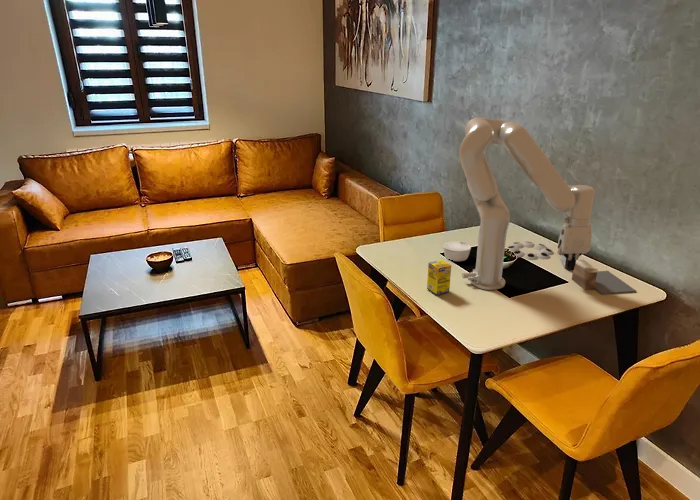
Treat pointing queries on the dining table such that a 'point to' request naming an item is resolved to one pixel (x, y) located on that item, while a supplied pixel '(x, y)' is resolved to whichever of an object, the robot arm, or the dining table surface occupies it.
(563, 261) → the tin
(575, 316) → the dining table surface
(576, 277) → the block
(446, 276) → the supplement box
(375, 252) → the dining table surface
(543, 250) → the paint palette
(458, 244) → the ramekin
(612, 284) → the mat
